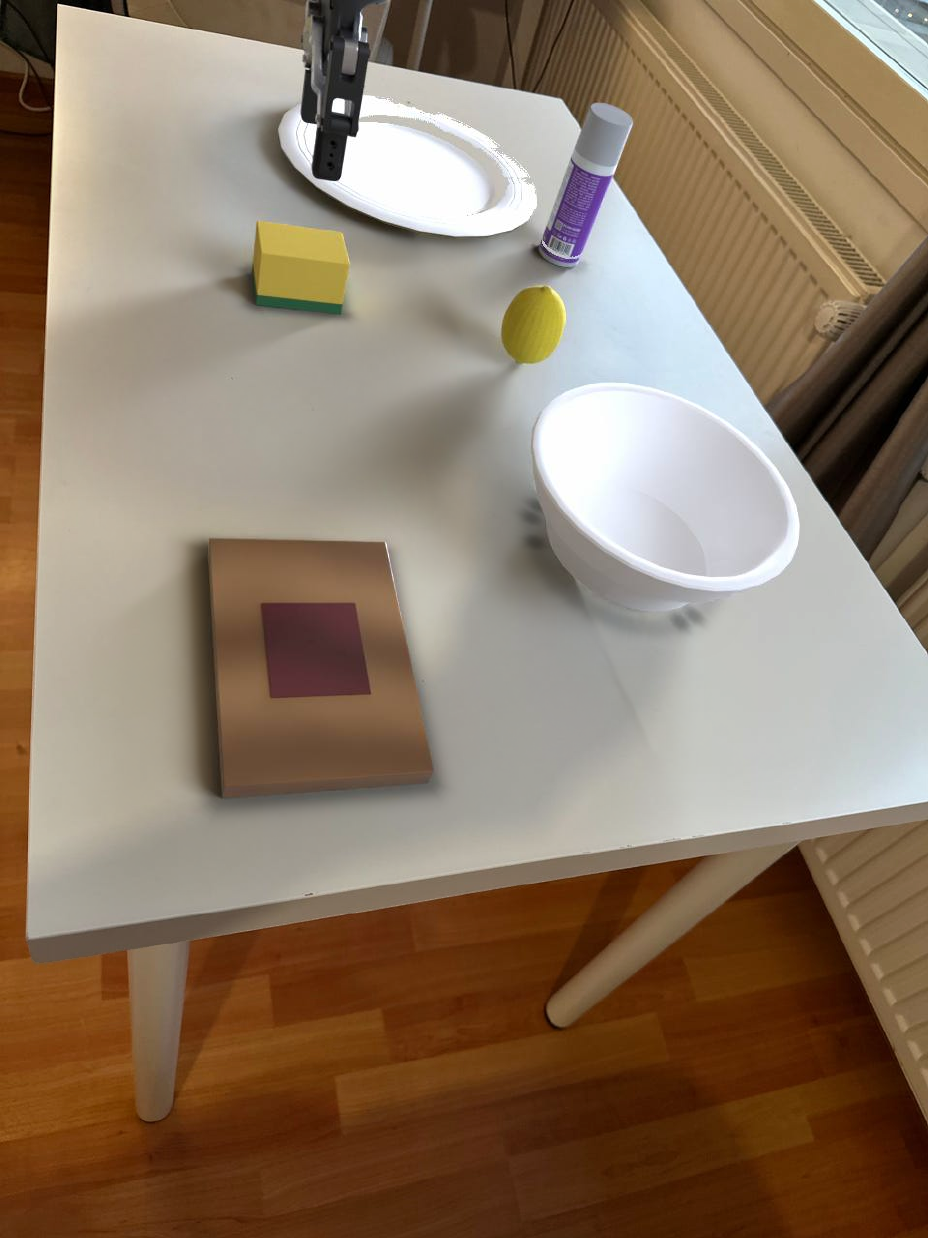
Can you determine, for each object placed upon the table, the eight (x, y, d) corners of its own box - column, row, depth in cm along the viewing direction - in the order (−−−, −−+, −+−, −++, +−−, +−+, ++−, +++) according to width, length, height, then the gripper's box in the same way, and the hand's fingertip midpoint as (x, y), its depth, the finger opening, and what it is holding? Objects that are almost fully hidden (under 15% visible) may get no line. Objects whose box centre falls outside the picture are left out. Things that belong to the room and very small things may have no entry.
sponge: (255, 305, 76) (261, 252, 73) (251, 271, 79) (256, 219, 75) (340, 314, 79) (350, 264, 75) (334, 281, 82) (342, 231, 78)
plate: (544, 167, 109) (549, 152, 108) (515, 284, 90) (521, 267, 89) (318, 83, 106) (320, 67, 105) (238, 186, 87) (240, 167, 86)
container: (586, 265, 97) (643, 125, 85) (555, 269, 94) (609, 126, 83) (561, 240, 99) (614, 101, 87) (530, 244, 96) (580, 101, 85)
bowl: (764, 532, 76) (818, 464, 70) (715, 706, 62) (777, 639, 56) (549, 423, 77) (583, 345, 71) (455, 569, 64) (487, 489, 58)
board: (428, 783, 53) (435, 771, 51) (222, 799, 49) (223, 786, 47) (382, 555, 63) (386, 540, 61) (207, 552, 59) (208, 536, 57)
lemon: (490, 338, 83) (517, 261, 77) (546, 352, 84) (576, 278, 78) (490, 373, 80) (517, 296, 74) (548, 387, 81) (579, 312, 75)
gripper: (284, -153, 59) (264, 97, 72) (306, -76, 52) (278, 190, 64) (392, -123, 62) (354, 113, 74) (428, -45, 54) (379, 205, 66)
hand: (319, 148), depth 69 cm, fingers open, 8 cm apart
